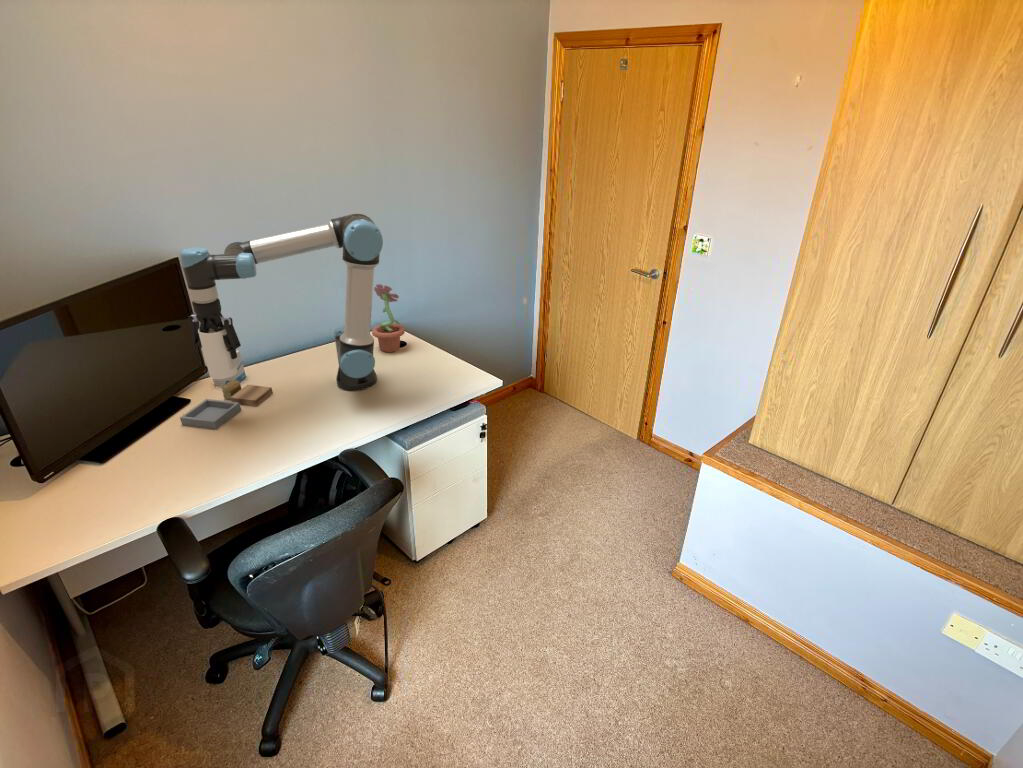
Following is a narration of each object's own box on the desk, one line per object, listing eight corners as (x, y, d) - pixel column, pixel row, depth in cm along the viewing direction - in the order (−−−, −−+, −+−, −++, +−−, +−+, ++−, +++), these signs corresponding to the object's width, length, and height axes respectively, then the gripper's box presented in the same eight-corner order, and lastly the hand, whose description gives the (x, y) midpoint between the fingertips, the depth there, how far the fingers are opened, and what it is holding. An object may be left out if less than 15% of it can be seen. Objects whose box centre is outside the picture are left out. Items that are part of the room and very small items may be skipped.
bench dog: (242, 392, 202) (239, 380, 199) (232, 400, 197) (228, 388, 194) (235, 391, 202) (232, 379, 200) (224, 399, 197) (221, 387, 195)
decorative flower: (414, 346, 241) (409, 281, 227) (396, 358, 230) (389, 290, 216) (386, 340, 246) (379, 276, 232) (367, 351, 235) (359, 285, 221)
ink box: (246, 376, 213) (240, 350, 207) (235, 387, 206) (227, 359, 200) (226, 375, 214) (219, 348, 208) (213, 385, 206) (206, 358, 201)
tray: (241, 410, 191) (239, 402, 189) (216, 429, 179) (214, 422, 178) (208, 406, 193) (206, 398, 191) (182, 425, 182) (179, 417, 180)
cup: (243, 370, 180) (232, 325, 173) (224, 381, 173) (212, 334, 166) (223, 366, 182) (212, 322, 175) (203, 376, 176) (191, 331, 168)
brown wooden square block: (273, 394, 202) (271, 387, 200) (257, 407, 193) (255, 400, 192) (249, 391, 203) (247, 384, 202) (232, 404, 195) (230, 397, 193)
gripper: (244, 298, 168) (257, 364, 178) (183, 292, 171) (200, 357, 181) (228, 306, 161) (243, 374, 172) (166, 300, 164) (184, 367, 175)
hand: (221, 365), depth 177 cm, fingers closed on cup, 8 cm apart
